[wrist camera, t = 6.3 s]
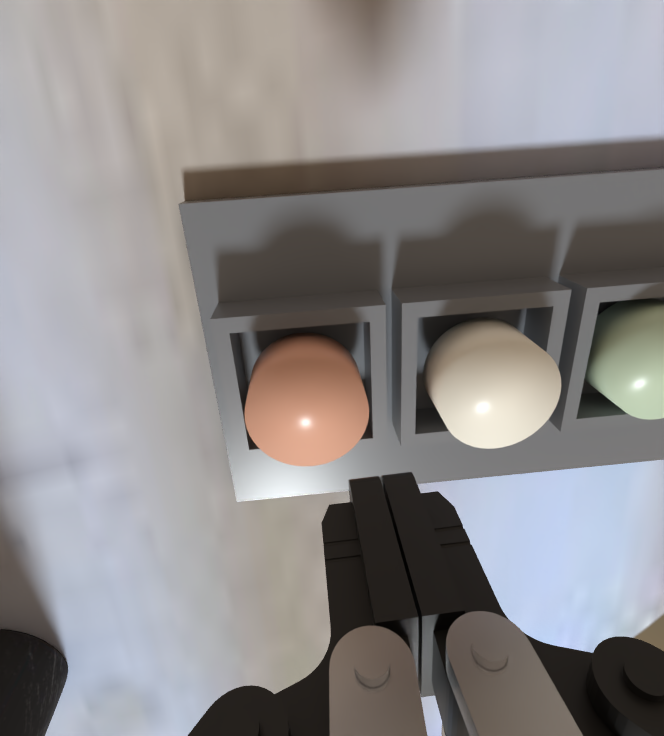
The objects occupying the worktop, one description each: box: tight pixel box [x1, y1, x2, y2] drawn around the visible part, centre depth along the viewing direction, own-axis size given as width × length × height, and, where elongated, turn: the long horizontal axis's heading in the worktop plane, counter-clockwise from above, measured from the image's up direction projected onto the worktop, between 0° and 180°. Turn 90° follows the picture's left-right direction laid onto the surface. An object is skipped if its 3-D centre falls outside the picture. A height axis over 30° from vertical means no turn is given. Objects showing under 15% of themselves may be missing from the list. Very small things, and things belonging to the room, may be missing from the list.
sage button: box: [584, 298, 664, 420], centre depth 19 cm, size 4×4×2 cm
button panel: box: [179, 167, 664, 502], centre depth 19 cm, size 14×22×3 cm, turn 93°
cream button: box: [423, 318, 561, 449], centre depth 17 cm, size 4×4×2 cm
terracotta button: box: [244, 333, 369, 466], centre depth 17 cm, size 4×4×2 cm
